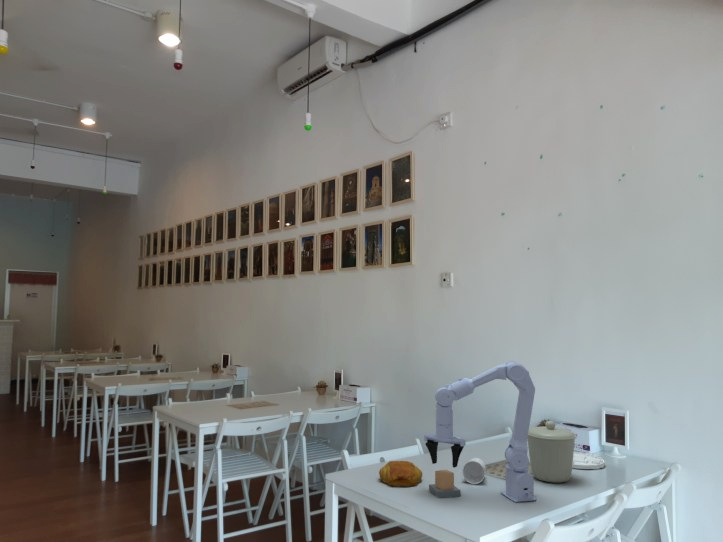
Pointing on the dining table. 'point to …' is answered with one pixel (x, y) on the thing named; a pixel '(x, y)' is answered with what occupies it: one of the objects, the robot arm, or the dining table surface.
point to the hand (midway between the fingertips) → (444, 465)
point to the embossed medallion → (587, 461)
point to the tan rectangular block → (444, 479)
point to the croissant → (400, 473)
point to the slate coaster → (444, 491)
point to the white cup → (474, 471)
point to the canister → (551, 452)
